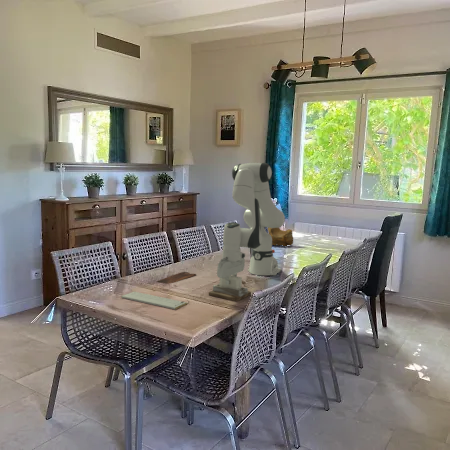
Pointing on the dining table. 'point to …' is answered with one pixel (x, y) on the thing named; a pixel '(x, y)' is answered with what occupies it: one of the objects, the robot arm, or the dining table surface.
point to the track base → (229, 293)
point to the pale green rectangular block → (232, 282)
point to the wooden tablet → (176, 277)
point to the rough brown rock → (281, 236)
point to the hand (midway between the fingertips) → (230, 283)
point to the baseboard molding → (154, 300)
